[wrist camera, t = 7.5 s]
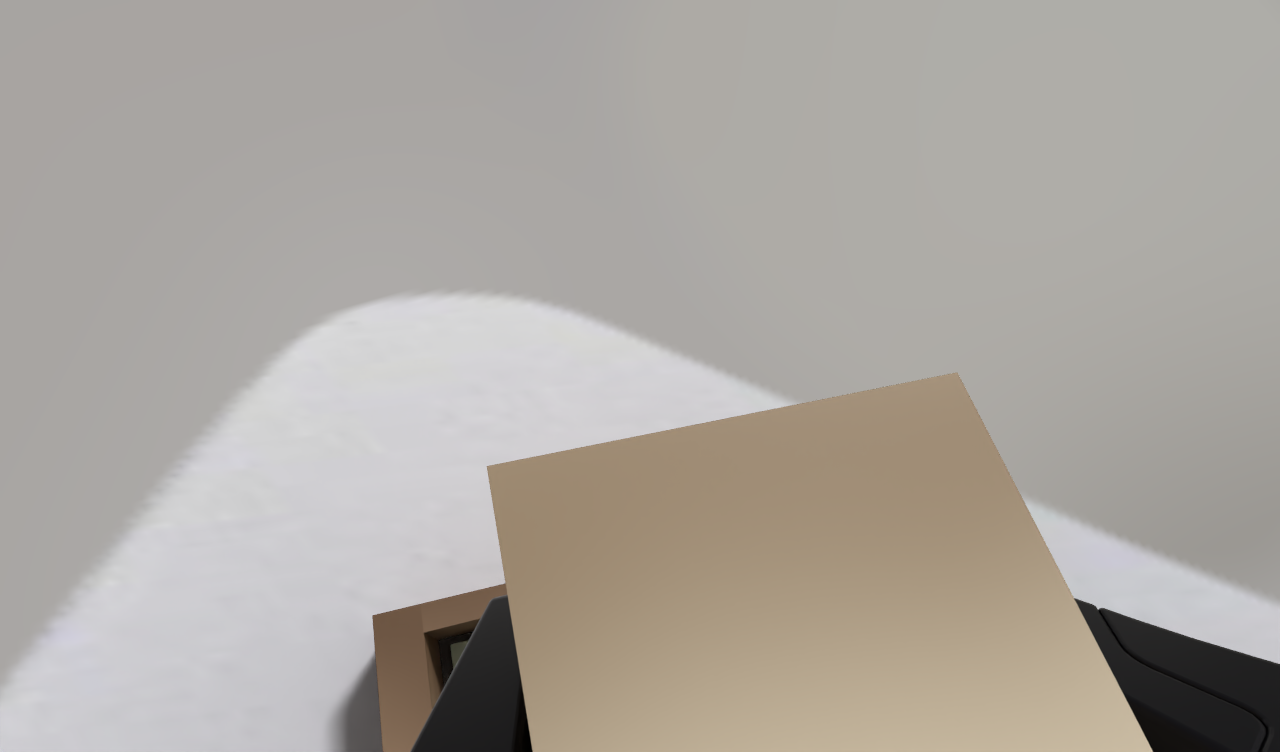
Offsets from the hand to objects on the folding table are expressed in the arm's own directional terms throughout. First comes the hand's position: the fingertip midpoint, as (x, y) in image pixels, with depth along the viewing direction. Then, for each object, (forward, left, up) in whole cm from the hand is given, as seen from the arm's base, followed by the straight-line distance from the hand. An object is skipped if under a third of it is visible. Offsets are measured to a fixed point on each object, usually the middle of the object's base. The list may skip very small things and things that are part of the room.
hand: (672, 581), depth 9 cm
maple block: (-1, 0, -7) cm, 7 cm away
